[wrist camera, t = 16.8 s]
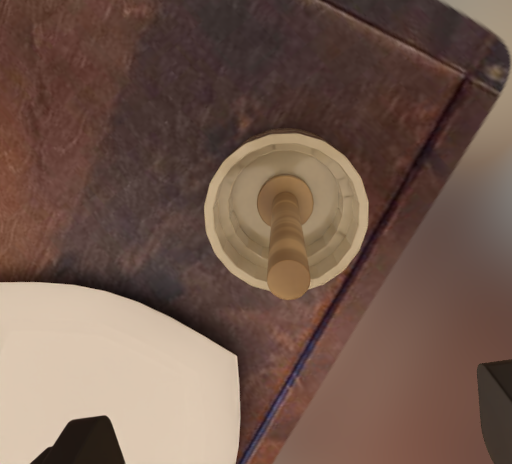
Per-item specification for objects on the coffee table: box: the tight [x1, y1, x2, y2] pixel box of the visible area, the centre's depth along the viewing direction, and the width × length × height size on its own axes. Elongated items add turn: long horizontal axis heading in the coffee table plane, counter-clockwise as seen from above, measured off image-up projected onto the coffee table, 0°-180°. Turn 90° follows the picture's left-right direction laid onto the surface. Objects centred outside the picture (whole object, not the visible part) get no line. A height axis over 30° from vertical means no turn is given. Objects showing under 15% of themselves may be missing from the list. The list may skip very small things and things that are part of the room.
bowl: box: [204, 128, 369, 291], centre depth 31 cm, size 10×10×6 cm
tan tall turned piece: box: [257, 174, 314, 300], centre depth 26 cm, size 4×4×15 cm
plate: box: [0, 282, 240, 464], centre depth 39 cm, size 27×27×2 cm
